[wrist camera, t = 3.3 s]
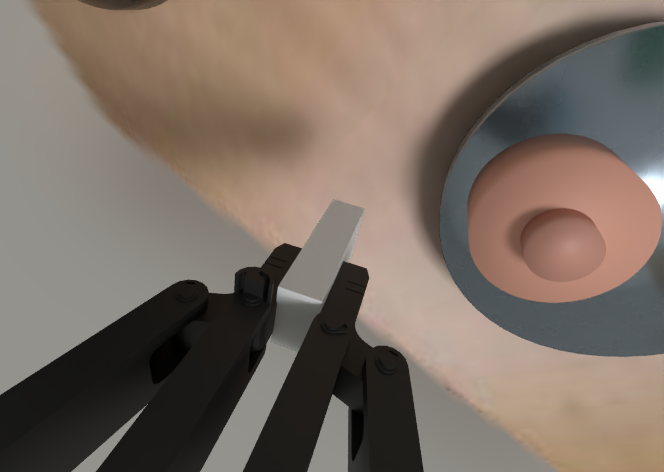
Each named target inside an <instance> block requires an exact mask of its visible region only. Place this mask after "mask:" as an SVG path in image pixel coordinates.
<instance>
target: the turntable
mask: <svg viewBox="0 0 664 472" xmlns="http://www.w3.org/2000/svg"><path fill="white" fill-rule="evenodd" d="M560 133H561V134H574V135H579V136H584V137H587V138H590V139H593V140H596V141H598V142H600V143H602V144H604V145H605V146H607V147H608V148H610V149H611V150H612V151H613V152H614V153H615V154H616V155H617V156H619V157H620V158H621V159H622V160H623V161H624V162H625V163H626V164H627V165H628V166H629V167H630V168H631V169H632V170H633V171H634V172H635V173H636V174H637V175H638V176H639V177H640V178H641V179H642V180H643V181H644V182H645V183H646V184H647V185H648V186H649V187H650V189H651V190H652V192H653V193H654V194H655V196H656V198H657V200H658V203H659V205H660V209H661V213H662V229H661V235H660V238H659V241H658V244H657V246H656V248H655V250H654V252H653V254H652V255H651V257H650V258H649V260H648V261H647V262H646V264H645V265H644V266H643V267H642V268H641V269H640V270H639V271H638V272H637V273H636V274H634V275H633V276H632V277H631V278H629V279H628V280H627V281H625V282H624V283H622V284H620V285H619V286H617V287H615V288H613V289H611V290H609V291H607V292H605V293H602V294H600V295H597V296H594V297H590V298H587V299H582V300H577V301H571V302H561V303H548V302H537V301H531V300H526V299H523V298H519V297H516V296H513V295H511V294H509V293H507V292H505V291H503V290H501V289H499V288H498V287H496V286H495V285H493V284H492V283H491V282H489V281H488V280H487V279H486V278H485V277H484V276H483V275H482V273H481V272H480V271H479V269H478V268H477V266H476V265H475V263H474V261H473V259H472V256H471V252H470V248H469V238H468V216H467V202H468V196H469V192H470V189H471V187H472V184H473V182H474V180H475V178H476V177H477V175H478V174H479V172H480V171H481V170H482V168H483V167H484V166H485V165H486V164H487V163H488V162H489V161H490V160H491V159H492V158H493V157H495V156H496V155H497V154H498V153H500V152H501V151H503V150H504V149H506V148H508V147H510V146H512V145H513V144H515V143H518V142H520V141H523V140H525V139H529V138H532V137H536V136H541V135H546V134H560ZM440 240H441V246H442V252H443V255H444V259H445V262H446V265H447V268H448V270H449V272H450V274H451V276H452V278H453V280H454V282H455V283H456V285H457V286H458V288H459V289H460V291H461V292H462V293H463V295H464V296H465V297H466V298H467V299H468V301H469V302H470V303H471V304H472V305H473V306H474V307H475V308H476V309H477V310H478V311H480V312H481V313H482V314H483V315H484V316H486V317H487V318H488V319H489V320H491V321H492V322H494V323H495V324H497V325H499V326H500V327H502V328H503V329H505V330H507V331H509V332H511V333H513V334H515V335H517V336H519V337H521V338H523V339H526V340H529V341H531V342H534V343H536V344H539V345H543V346H546V347H550V348H553V349H557V350H561V351H567V352H572V353H578V354H586V355H596V356H618V357H629V356H646V355H656V354H664V21H662V22H654V23H648V24H644V25H639V26H635V27H631V28H627V29H623V30H619V31H615V32H612V33H609V34H607V35H604V36H601V37H598V38H596V39H593V40H590V41H587V42H584V43H582V44H580V45H578V46H576V47H574V48H572V49H570V50H568V51H566V52H564V53H562V54H560V55H557V56H555V57H554V58H552V59H550V60H549V61H547V62H546V63H544V64H542V65H541V66H539V67H537V68H536V69H534V70H533V71H531V72H529V73H528V74H527V75H525V76H524V77H523V78H522V79H520V80H519V81H518V82H516V83H515V84H514V85H512V86H511V87H510V88H509V89H507V90H506V91H505V92H504V93H503V94H502V95H501V96H500V97H499V98H498V99H497V100H496V101H495V102H494V103H493V104H492V105H491V106H489V107H488V108H487V109H486V111H485V112H484V113H483V114H482V115H481V117H480V118H479V119H478V120H477V122H476V123H475V124H474V125H473V126H472V128H471V129H470V131H469V132H468V134H467V135H466V137H465V138H464V140H463V142H462V143H461V145H460V146H459V148H458V150H457V152H456V154H455V156H454V159H453V161H452V163H451V165H450V167H449V170H448V174H447V177H446V180H445V183H444V187H443V193H442V200H441V208H440Z"/></svg>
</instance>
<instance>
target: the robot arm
mask: <svg viewBox="0 0 664 472" xmlns="http://www.w3.org/2000/svg"><path fill="white" fill-rule="evenodd" d="M78 1H81V2H83V3H86V4H88V5H91V6H95V7H99V8H104V9H109V10H139V9H147V8H151V7H154V6H157V5H159V4H161V3H163V2H165V1H166V0H78ZM363 212H364V208H361V207H358V206H354V205H351V204H348V203H344V202H341V201H338V200H334V199H333V201H332V202H331V204H330V206H329V207H328V209H327V210H326V212H325V213H324V215H323V217H322V218H321V220H320V221H319V223H318V224H317V226H316V228H315V229H314V231H313V232H312V234H311V235H310V237H309V239H308V240H307V242H306V243H305V245H304V247H303V248H299V247H296V246H292V245H289V244H286V243H284V244H282V245H280V246H278V247H277V248H275V249H274V251H273V252H272V253H271V255H270V256H269V258H268V259H267V260H266V261H265V264H263V265H262V267H261V268H258V267H247V268H243V269H241V270H239V271H238V272H236V273H235V287H234V293H231V294H217V293H209V292H208V289H207V287H206V286H205V285H204V284H203V283H201V282H199V281H196V280H184V281H179V282H177V283H175V284H173V285H171V286H170V287H168V288H166V289H165V290H163V291H162V292H160V293H159V294H157V295H156V296H154V297H153V298H151V299H149V300H148V301H146V302H145V303H143V304H142V305H140V306H138V307H137V308H135V309H134V310H132V311H131V312H129V313H127V314H126V315H124V316H123V317H121V318H120V319H118V320H117V321H115V322H113V323H112V324H110V325H109V326H107V327H106V328H104V329H103V330H101V331H99V332H98V333H96V334H95V335H93V336H92V337H90V338H88V339H87V340H85V341H84V342H82V343H81V344H79V345H78V346H76V347H74V348H73V349H71V350H70V351H68V352H67V353H65V354H64V355H62V356H60V357H59V358H57V359H56V360H54V361H53V362H51V363H50V364H48V365H47V366H45V367H43V368H42V369H40V370H39V371H37V372H35V373H34V374H32V375H31V376H29V377H28V378H26V379H25V380H23V381H21V382H20V383H18V384H17V385H15V386H14V387H12V388H10V389H9V390H7V391H6V392H4V393H3V394H1V395H0V472H71V471H72V470H73V469H75V468H76V467H77V466H78V465H79V464H80V463H81V462H83V461H84V460H85V459H86V458H87V457H88V456H89V455H90V454H92V453H93V452H94V451H95V450H96V449H97V448H98V447H99V446H101V445H102V444H103V443H104V442H105V441H106V440H107V439H109V437H111V436H112V435H113V434H114V433H115V432H116V431H117V430H119V429H120V428H121V427H122V426H123V425H124V424H125V423H127V422H128V421H129V420H130V419H131V418H132V417H133V416H135V415H136V414H137V413H138V412H139V411H140V410H141V409H142V408H144V407H145V406H146V405H147V404H148V405H147V406H146V407H145V409H144V410H143V411H142V413H141V414H140V415H139V417H138V418H137V419H136V420H135V422H134V423H133V424H132V426H131V427H130V428H129V430H128V431H127V432H126V433H125V435H124V436H123V437H122V439H121V440H120V441H119V442H118V444H117V445H116V446H115V448H114V449H113V450H112V452H111V453H110V454H109V456H108V457H107V458H106V459H105V461H104V462H103V463H102V465H101V466H100V467H99V468H98V470H97V471H96V472H200V471H201V469H202V467H203V465H204V464H205V462H206V460H207V458H208V456H209V455H210V453H211V451H212V449H213V447H214V445H215V443H216V442H217V440H218V438H219V436H220V434H221V433H222V431H223V429H224V427H225V425H226V423H227V422H228V420H229V418H230V416H231V414H232V412H233V411H234V409H235V407H236V405H237V403H238V401H239V399H240V398H241V396H242V394H243V392H244V390H245V389H246V387H247V385H248V383H249V381H250V380H251V378H252V376H253V374H254V372H255V370H256V369H257V367H258V365H259V363H260V361H261V359H262V358H263V356H264V354H265V350H266V344H267V341H268V340H269V338H270V336H271V334H272V337H271V342H272V343H275V344H278V345H280V346H283V347H286V348H289V349H291V350H294V351H297V352H298V354H297V356H296V358H295V360H294V362H293V364H292V367H291V369H290V371H289V373H288V375H287V377H286V380H285V382H284V384H283V386H282V388H281V390H280V392H279V395H278V397H277V399H276V401H275V403H274V405H273V408H272V410H271V412H270V414H269V416H268V419H267V421H266V423H265V425H264V427H263V429H262V431H261V434H260V436H259V438H258V440H257V442H256V444H255V447H254V449H253V451H252V453H251V455H250V457H249V460H248V462H247V464H246V466H245V468H244V470H243V472H307V471H308V468H309V464H310V461H311V458H312V455H313V452H314V449H315V446H316V443H317V440H318V437H319V434H320V430H321V427H322V424H323V421H324V418H325V415H326V412H327V409H328V406H329V403H330V400H331V397H332V394H333V395H335V396H336V397H337V398H338V399H340V400H341V401H342V402H344V403H345V404H346V405H347V406H349V412H348V414H349V415H348V418H349V419H348V420H349V421H348V472H424V471H423V464H422V457H421V450H420V443H419V436H418V430H417V423H416V416H415V409H414V403H413V395H412V388H411V382H410V375H409V368H408V364H407V361H406V359H405V358H404V357H403V355H402V354H401V353H400V352H398V351H397V350H395V349H394V348H391V347H388V346H376V347H374V348H373V347H371V346H370V345H368V344H367V343H365V342H364V341H363V340H362V339H361V338H360V337H359V335H358V334H357V332H356V329H355V321H356V319H357V316H358V312H359V309H360V306H361V303H362V300H363V297H364V293H365V290H366V287H367V284H368V280H369V275H368V271H367V269H366V268H363V267H360V266H357V265H354V264H351V263H349V262H350V259H351V257H352V254H353V250H354V246H355V243H356V239H357V235H358V231H359V227H360V224H361V220H362V216H363Z"/></svg>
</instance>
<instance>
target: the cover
mask: <svg viewBox="0 0 664 472" xmlns="http://www.w3.org/2000/svg"><path fill="white" fill-rule="evenodd" d="M467 216H468V238H469V248H470V252H471V256H472V259H473V261H474V263H475V265H476V266H477V268H478V269H479V271H480V272H481V273H482V275H483V276H484V277H485V278H486V279H487V280H488V281H489V282H491V283H492V284H493V285H495V286H496V287H498V288H499V289H501V290H503V291H505V292H507V293H509V294H511V295H513V296H516V297H519V298H523V299H526V300H531V301H537V302H548V303H561V302H571V301H577V300H582V299H587V298H590V297H594V296H597V295H600V294H602V293H605V292H607V291H609V290H611V289H613V288H615V287H617V286H619V285H620V284H622V283H624V282H625V281H627V280H628V279H629V278H631V277H632V276H633V275H634V274H636V273H637V272H638V271H639V270H640V269H641V268H642V267H643V266H644V265H645V264H646V262H647V261H648V260H649V258H650V257H651V255H652V254H653V252H654V250H655V248H656V246H657V244H658V241H659V238H660V235H661V229H662V213H661V209H660V205H659V203H658V200H657V198H656V196H655V194H654V193H653V192H652V190H651V189H650V187H649V186H648V185H647V184H646V183H645V182H644V181H643V180H642V179H641V178H640V177H639V176H638V175H637V174H636V173H635V172H634V171H633V170H632V169H631V168H630V167H629V166H628V165H627V164H626V163H625V162H624V161H623V160H622V159H621V158H620V157H619V156H617V155H616V154H615V153H614V152H613V151H612V150H611V149H610V148H608V147H607V146H605V145H604V144H602V143H600V142H598V141H596V140H593V139H590V138H587V137H584V136H579V135H574V134H561V133H560V134H546V135H541V136H536V137H532V138H529V139H525V140H523V141H520V142H518V143H515V144H513V145H512V146H510V147H508V148H506V149H504V150H503V151H501V152H500V153H498V154H497V155H496V156H495V157H493V158H492V159H491V160H490V161H489V162H488V163H487V164H486V165H485V166H484V167H483V168H482V170H481V171H480V172H479V174H478V175H477V177H476V178H475V180H474V182H473V184H472V187H471V189H470V192H469V196H468V202H467Z"/></svg>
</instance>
